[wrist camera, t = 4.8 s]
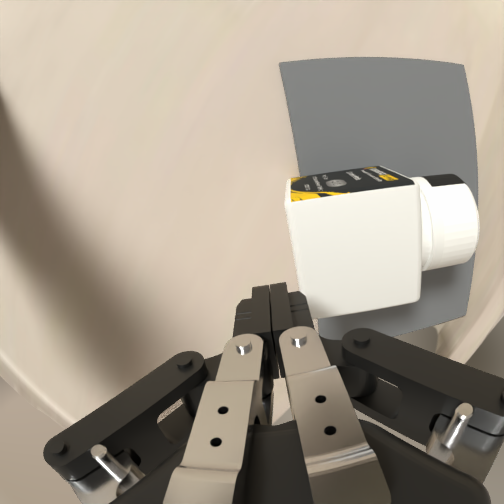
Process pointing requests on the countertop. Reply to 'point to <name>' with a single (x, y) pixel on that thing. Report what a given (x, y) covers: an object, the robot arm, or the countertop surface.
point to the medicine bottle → (375, 235)
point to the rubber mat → (388, 154)
